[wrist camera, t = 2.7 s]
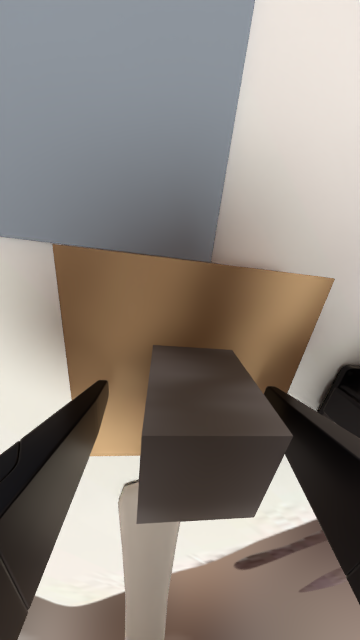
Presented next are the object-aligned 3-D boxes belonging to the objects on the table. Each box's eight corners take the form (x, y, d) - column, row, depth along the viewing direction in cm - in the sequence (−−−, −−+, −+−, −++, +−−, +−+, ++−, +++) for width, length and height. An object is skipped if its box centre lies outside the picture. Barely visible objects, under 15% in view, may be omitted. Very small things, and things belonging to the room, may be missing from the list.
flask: (114, 478, 18) (59, 727, 8) (185, 472, 18) (207, 697, 9) (122, 516, 20) (86, 739, 11) (183, 509, 21) (199, 716, 12)
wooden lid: (319, 276, 9) (525, 306, 4) (256, 442, 13) (313, 560, 8) (63, 245, 7) (-149, 226, 2) (84, 443, 11) (23, 587, 6)
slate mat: (278, -155, 6) (285, -182, 6) (209, 262, 11) (210, 262, 11) (-228, -378, 4) (-264, -437, 4) (-47, 230, 9) (-56, 229, 9)
